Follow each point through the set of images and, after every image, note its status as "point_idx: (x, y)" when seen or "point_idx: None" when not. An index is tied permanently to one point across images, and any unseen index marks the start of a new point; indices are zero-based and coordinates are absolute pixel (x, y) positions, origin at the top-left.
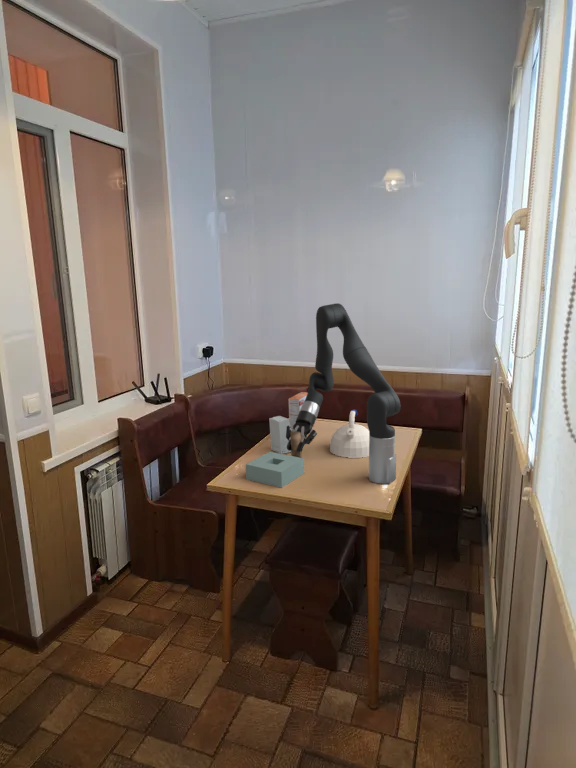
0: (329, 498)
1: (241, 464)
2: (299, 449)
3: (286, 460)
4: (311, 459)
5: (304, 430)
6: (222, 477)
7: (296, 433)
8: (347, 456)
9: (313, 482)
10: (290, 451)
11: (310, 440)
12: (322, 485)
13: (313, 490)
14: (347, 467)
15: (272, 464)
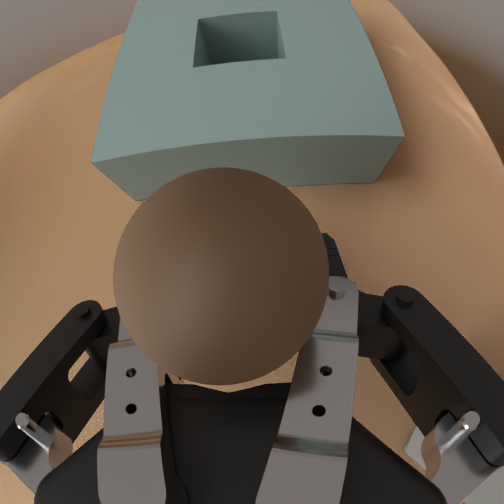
0: (12, 102)
1: (478, 136)
2: None
3: (181, 73)
4: None
5: (109, 448)
6: (407, 22)
7: (172, 244)
8: None
9: (66, 146)
10: (408, 447)
11: (81, 377)
12: (35, 149)
13: (53, 101)
14: None
15: (222, 10)
